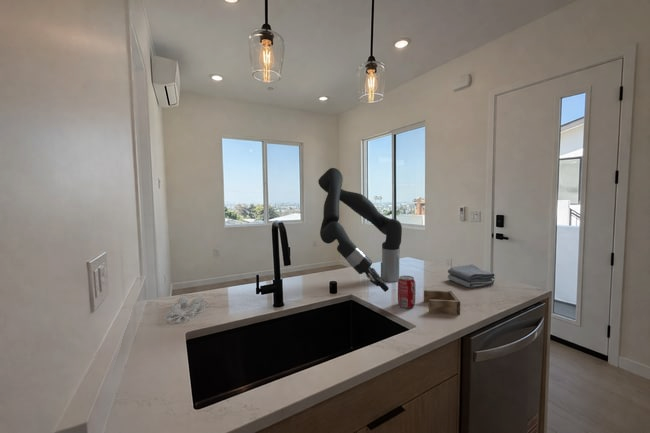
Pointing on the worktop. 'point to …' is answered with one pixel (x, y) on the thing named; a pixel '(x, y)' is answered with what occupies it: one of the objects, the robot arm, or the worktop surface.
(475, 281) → the towel
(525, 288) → the worktop surface
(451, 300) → the wooden tray
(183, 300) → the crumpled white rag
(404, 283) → the soda can
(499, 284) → the worktop surface
